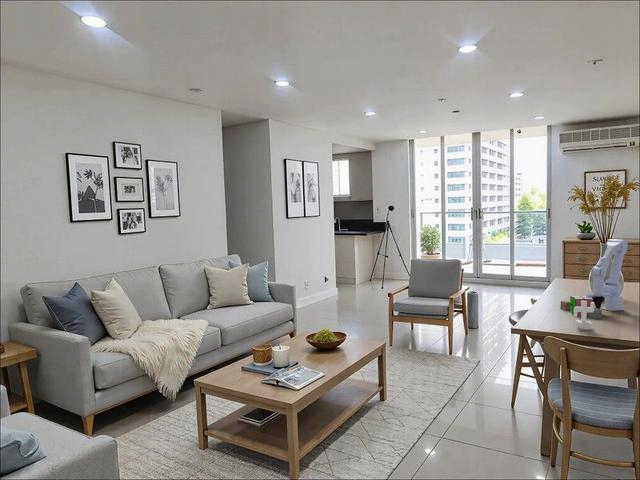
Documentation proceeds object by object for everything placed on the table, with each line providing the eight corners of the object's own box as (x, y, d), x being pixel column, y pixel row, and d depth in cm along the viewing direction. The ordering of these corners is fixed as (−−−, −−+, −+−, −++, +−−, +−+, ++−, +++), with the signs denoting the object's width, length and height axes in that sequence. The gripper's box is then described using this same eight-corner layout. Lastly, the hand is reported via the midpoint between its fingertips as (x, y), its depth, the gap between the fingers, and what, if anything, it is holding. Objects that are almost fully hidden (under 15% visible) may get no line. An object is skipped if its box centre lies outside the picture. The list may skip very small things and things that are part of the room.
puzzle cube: (593, 315, 279) (593, 299, 278) (575, 315, 281) (575, 298, 280) (587, 312, 288) (587, 295, 288) (569, 311, 290) (570, 295, 290)
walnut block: (567, 308, 300) (567, 300, 300) (572, 310, 295) (572, 302, 295) (560, 308, 300) (560, 301, 299) (565, 310, 295) (565, 302, 294)
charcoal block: (596, 316, 277) (596, 308, 277) (601, 318, 272) (602, 309, 272) (588, 316, 276) (588, 308, 276) (593, 318, 271) (593, 310, 271)
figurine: (573, 326, 256) (573, 298, 255) (593, 327, 252) (593, 299, 251) (574, 329, 249) (574, 301, 248) (594, 330, 245) (595, 302, 244)
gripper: (591, 288, 280) (591, 310, 281) (614, 287, 281) (613, 309, 282) (583, 286, 287) (583, 308, 288) (605, 285, 288) (605, 307, 289)
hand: (597, 308), depth 285 cm, fingers closed
